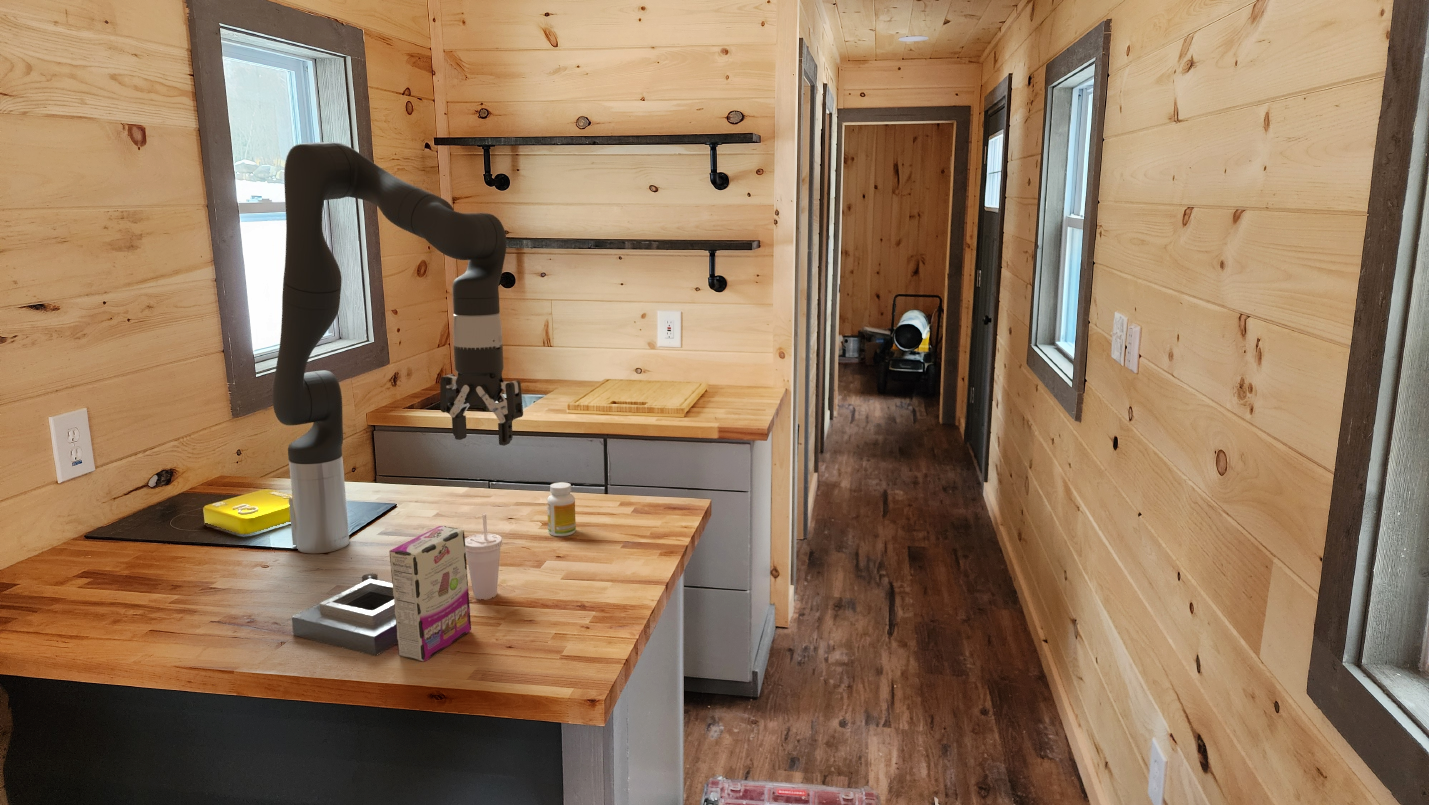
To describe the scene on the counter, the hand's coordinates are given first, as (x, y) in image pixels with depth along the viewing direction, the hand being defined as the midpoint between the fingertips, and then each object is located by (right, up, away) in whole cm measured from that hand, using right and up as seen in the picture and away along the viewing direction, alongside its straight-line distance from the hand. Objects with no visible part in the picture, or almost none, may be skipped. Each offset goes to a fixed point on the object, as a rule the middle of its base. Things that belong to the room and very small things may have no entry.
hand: (482, 441), depth 152 cm
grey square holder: (-15, -28, -6) cm, 32 cm away
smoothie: (-1, -26, +5) cm, 26 cm away
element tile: (-56, -18, +40) cm, 71 cm away
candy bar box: (-4, -30, -13) cm, 32 cm away
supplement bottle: (+7, -20, +34) cm, 40 cm away
